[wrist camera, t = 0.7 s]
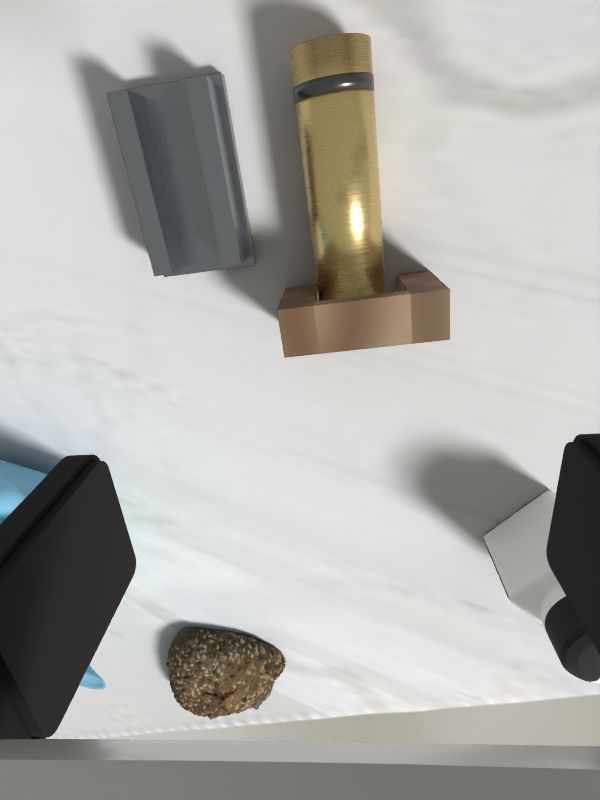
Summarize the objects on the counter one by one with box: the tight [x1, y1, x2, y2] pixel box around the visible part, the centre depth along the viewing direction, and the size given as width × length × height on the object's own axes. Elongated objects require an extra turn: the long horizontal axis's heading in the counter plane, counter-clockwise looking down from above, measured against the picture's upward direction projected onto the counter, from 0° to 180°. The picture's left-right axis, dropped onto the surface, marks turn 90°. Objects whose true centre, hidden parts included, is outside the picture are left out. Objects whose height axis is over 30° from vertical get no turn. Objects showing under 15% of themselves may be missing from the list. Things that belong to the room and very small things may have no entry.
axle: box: [289, 33, 386, 301], centre depth 28 cm, size 14×4×4 cm, turn 8°
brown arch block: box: [277, 271, 450, 357], centre depth 31 cm, size 10×3×6 cm, turn 98°
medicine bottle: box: [483, 491, 600, 683], centre depth 36 cm, size 7×7×12 cm
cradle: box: [106, 73, 256, 277], centre depth 29 cm, size 6×11×3 cm, turn 8°
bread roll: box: [166, 628, 285, 719], centre depth 49 cm, size 13×12×5 cm
